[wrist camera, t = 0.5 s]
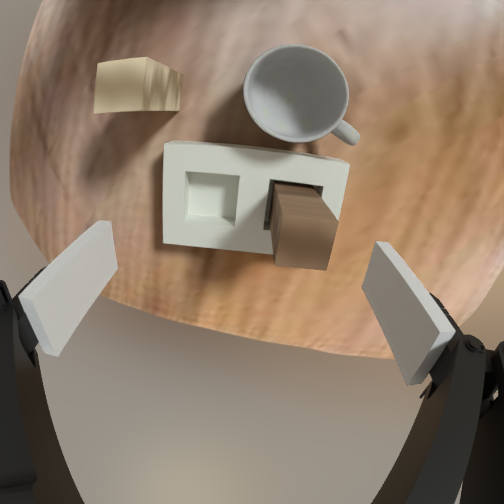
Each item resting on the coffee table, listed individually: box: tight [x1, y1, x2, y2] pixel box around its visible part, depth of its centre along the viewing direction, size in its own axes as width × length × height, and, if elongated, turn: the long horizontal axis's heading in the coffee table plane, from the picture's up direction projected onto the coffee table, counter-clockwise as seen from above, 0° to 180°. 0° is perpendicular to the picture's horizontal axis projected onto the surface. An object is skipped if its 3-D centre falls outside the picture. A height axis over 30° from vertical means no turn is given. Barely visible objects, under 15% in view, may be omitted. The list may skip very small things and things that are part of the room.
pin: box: [94, 57, 183, 114], centre depth 25 cm, size 5×5×13 cm
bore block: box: [163, 140, 350, 254], centre depth 36 cm, size 13×22×4 cm, turn 84°
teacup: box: [243, 44, 360, 146], centre depth 28 cm, size 14×11×8 cm
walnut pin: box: [269, 180, 339, 270], centre depth 31 cm, size 5×5×13 cm
